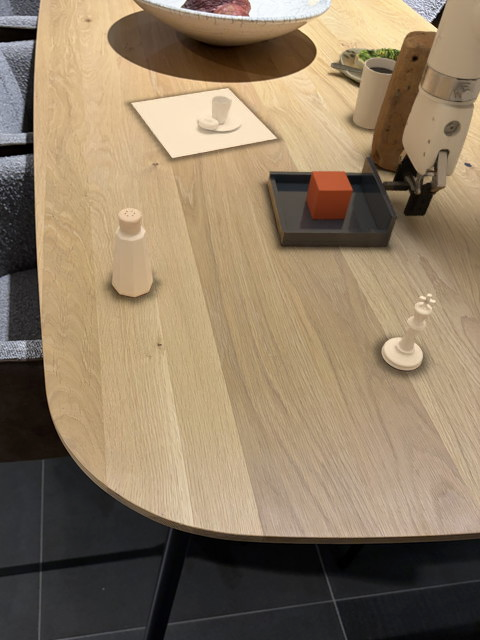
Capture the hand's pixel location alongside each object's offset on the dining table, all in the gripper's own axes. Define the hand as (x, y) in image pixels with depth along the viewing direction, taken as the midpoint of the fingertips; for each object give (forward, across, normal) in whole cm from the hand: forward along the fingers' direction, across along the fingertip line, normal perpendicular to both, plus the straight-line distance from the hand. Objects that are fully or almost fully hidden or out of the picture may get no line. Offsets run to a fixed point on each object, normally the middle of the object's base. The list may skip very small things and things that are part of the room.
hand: (407, 200), depth 91 cm
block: (+3, +15, -4) cm, 16 cm away
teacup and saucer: (+3, +28, +29) cm, 41 cm away
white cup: (+3, +29, -2) cm, 29 cm away
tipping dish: (+3, 0, +10) cm, 10 cm away
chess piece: (+3, -29, +8) cm, 30 cm away
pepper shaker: (+3, -16, +41) cm, 44 cm away
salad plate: (+3, +49, -10) cm, 50 cm away
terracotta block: (+2, 0, +12) cm, 13 cm away
